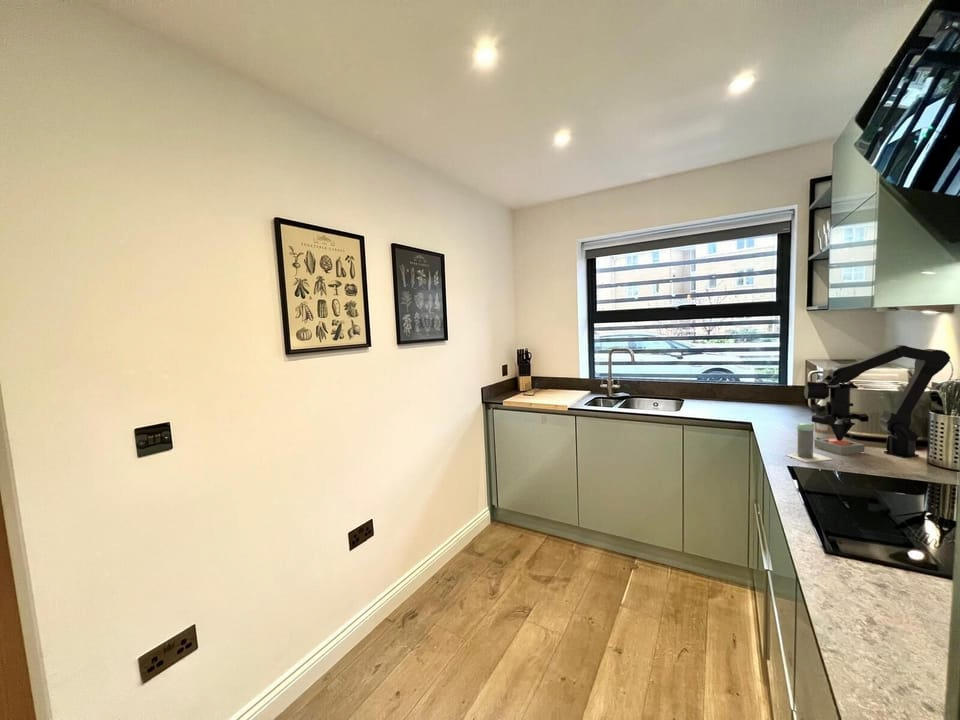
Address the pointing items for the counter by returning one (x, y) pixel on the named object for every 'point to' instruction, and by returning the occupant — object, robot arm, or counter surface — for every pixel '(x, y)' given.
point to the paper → (815, 458)
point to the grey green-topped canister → (805, 440)
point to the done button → (841, 442)
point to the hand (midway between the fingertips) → (839, 440)
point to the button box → (839, 447)
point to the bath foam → (821, 429)
